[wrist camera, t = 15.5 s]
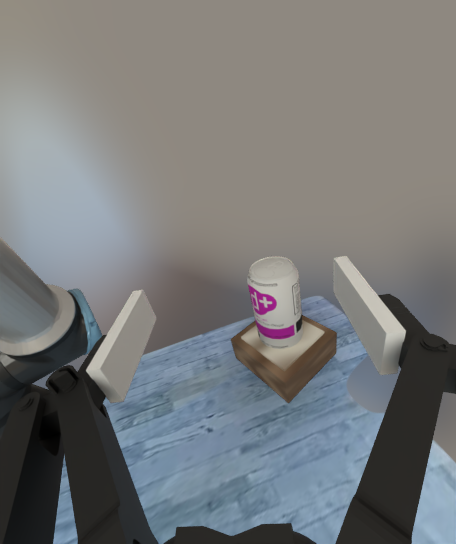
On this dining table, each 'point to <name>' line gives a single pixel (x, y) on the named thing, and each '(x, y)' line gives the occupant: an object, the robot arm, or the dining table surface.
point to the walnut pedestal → (286, 357)
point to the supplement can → (276, 301)
